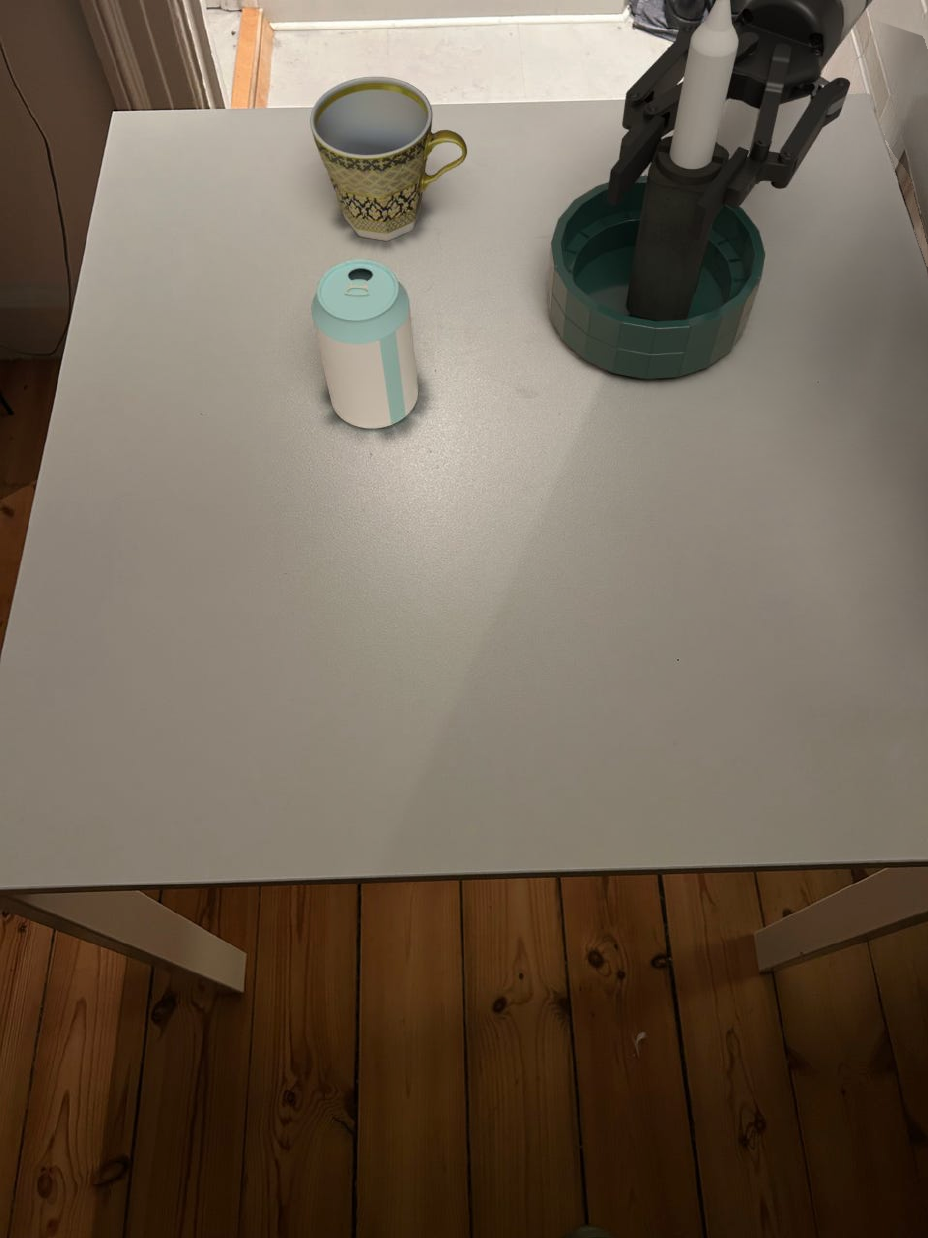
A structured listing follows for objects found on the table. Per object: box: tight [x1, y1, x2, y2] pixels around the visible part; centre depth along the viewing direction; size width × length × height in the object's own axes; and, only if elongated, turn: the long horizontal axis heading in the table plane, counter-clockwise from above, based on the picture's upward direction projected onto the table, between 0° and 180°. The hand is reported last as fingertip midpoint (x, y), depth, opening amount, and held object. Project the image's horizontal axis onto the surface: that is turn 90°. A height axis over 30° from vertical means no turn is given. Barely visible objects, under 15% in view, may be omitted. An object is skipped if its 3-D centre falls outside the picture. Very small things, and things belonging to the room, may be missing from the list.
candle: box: [626, 0, 738, 321], centre depth 69 cm, size 5×5×25 cm
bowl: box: [546, 174, 766, 380], centre depth 81 cm, size 17×17×6 cm
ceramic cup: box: [309, 76, 468, 242], centre depth 85 cm, size 13×10×10 cm
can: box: [311, 258, 419, 429], centre depth 75 cm, size 7×7×12 cm
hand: (655, 204), depth 67 cm, fingers closed on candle, 6 cm apart
